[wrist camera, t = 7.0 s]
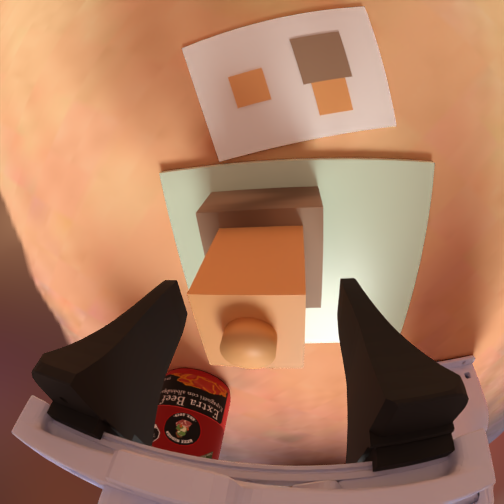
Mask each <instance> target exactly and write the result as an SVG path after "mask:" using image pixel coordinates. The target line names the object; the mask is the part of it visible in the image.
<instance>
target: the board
mask: <svg viewBox="0 0 504 504" xmlns="http://www.w3.org/2000/svg"><path fill="white" fill-rule="evenodd" d="M434 166H435V163H434V162H433V161H424V160H408V159H386V158H305V159H282V160H265V161H251V162H238V163H227V164H217V165H208V166H199V167H191V168H183V169H176V170H169V171H162V172H161V173H159V174H160V179H161V183H162V188H163V192H164V197H165V201H166V205H167V210H168V214H169V218H170V222H171V226H172V230H173V234H174V238H175V242H176V246H177V249H178V253H179V257H180V261H181V264H182V268H183V271H184V275H185V278H186V282H187V285H188V289H190V287H191V285H192V282H193V280H194V278H195V276H196V274H197V272H198V270H199V268H200V266H201V264H202V262H203V260H204V258H205V255H204V251H203V246H202V241H201V237H200V232H199V227H198V223H197V218H196V212H197V211H198V209H199V208H200V207H201V205H202V204H203V202H204V201H205V200H206V199H207V197H208V196H209V195H210V193H211V192H219V191H232V190H247V189H263V188H283V187H311V186H318V188H319V192H320V196H321V200H322V204H323V273H322V298H321V308H306V314H305V343H332V342H340V341H339V335H338V321H337V310H338V300H339V289H340V279H341V278H355V279H356V280H357V282H358V283H359V285H360V286H361V287H362V289H363V290H364V292H365V293H366V294H367V296H368V297H369V299H370V300H371V301H372V302H373V304H374V305H375V306H376V307H377V309H378V310H379V311H380V312H381V314H382V315H383V316H384V317H385V318H386V319H387V321H388V322H389V323H390V324H391V325H392V326H393V327H394V328H395V329H396V330H397V331H398V332H399V333H401V330H402V327H403V324H404V321H405V318H406V314H407V311H408V308H409V304H410V301H411V297H412V293H413V290H414V286H415V282H416V278H417V274H418V269H419V265H420V260H421V256H422V251H423V246H424V241H425V235H426V230H427V224H428V218H429V211H430V204H431V196H432V188H433V178H434Z"/></svg>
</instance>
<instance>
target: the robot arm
mask: <svg viewBox="0 0 504 504" xmlns="http://www.w3.org/2000/svg"><path fill="white" fill-rule="evenodd" d="M186 318H187V311H186V308H185V305H184V301H183V298H182V295H181V292H180V289H179V286H178V282H177V280H165V281H164V282H162V283H161V284H159V285H158V286H157V287H156V288H154V289H153V290H152V291H151V292H150V293H148V294H147V295H146V296H145V297H143V298H142V299H141V300H140V301H139V302H137V303H136V304H135V305H134V306H132V307H131V308H130V309H129V310H127V311H126V312H125V313H123V314H122V315H121V316H119V317H118V318H117V319H115V320H114V321H112V322H111V323H109V324H108V325H106V326H105V327H103V328H102V329H100V330H98V331H96V332H94V333H93V334H91V335H89V336H87V337H85V338H83V339H81V340H79V341H77V342H75V343H73V344H70V345H68V346H66V347H63V348H60V349H57V350H54V351H51V352H48V353H44V354H43V355H42V357H41V358H40V360H39V361H38V363H37V364H36V366H35V367H34V369H33V370H32V376H33V379H34V380H35V382H36V383H37V384H38V385H39V387H41V389H42V390H43V391H44V392H45V393H46V394H47V395H48V396H49V397H50V398H51V399H52V400H53V402H52V404H51V405H49V404H48V403H47V402H45V401H43V400H41V399H39V398H37V397H35V396H31V397H30V399H29V400H28V402H27V404H26V406H25V407H24V409H23V411H22V413H21V415H20V416H19V418H18V420H17V422H16V424H15V426H14V428H13V430H12V434H14V435H15V436H16V437H17V438H19V439H20V440H21V441H22V442H24V443H25V444H26V445H28V446H29V447H30V448H32V449H33V450H35V451H36V452H37V453H39V454H40V455H41V456H43V457H45V458H46V459H48V460H49V461H51V462H53V463H54V464H56V465H58V466H60V467H61V468H63V469H65V470H66V471H69V472H70V473H72V474H74V475H76V476H78V477H80V478H82V479H83V480H85V481H87V482H89V483H91V484H93V485H95V486H98V487H100V488H102V489H103V490H102V493H101V496H100V499H99V502H98V504H473V503H475V502H476V503H475V504H493V503H494V495H493V484H494V483H495V476H494V469H493V464H492V459H491V454H490V450H489V445H488V441H487V436H486V433H485V432H486V430H487V426H488V419H489V413H488V406H487V402H486V399H485V396H484V394H483V391H482V388H481V385H480V382H479V380H478V377H477V374H476V372H475V369H474V367H473V364H472V363H473V362H474V360H475V357H474V356H473V355H471V356H466V357H462V358H457V359H451V360H446V361H440V362H436V361H434V360H433V359H431V358H429V357H428V356H427V355H425V354H424V353H422V352H421V351H420V350H419V349H417V348H416V347H415V346H414V345H412V344H411V343H410V342H409V341H408V340H406V339H405V338H404V337H403V336H402V335H401V334H400V333H399V332H398V331H397V330H396V329H395V328H394V327H393V326H392V325H391V324H390V323H389V322H388V321H387V319H386V318H385V317H384V316H383V315H382V314H381V312H380V311H379V310H378V309H377V307H376V306H375V305H374V304H373V302H372V301H371V300H370V299H369V297H368V296H367V294H366V293H365V292H364V290H363V289H362V287H361V286H360V285H359V283H358V282H357V280H356V279H355V278H341V279H340V289H339V300H338V310H337V321H338V335H339V341H340V346H341V352H342V357H343V363H344V369H345V375H346V383H347V406H348V430H347V455H346V464H337V465H315V466H285V465H263V464H249V463H239V462H230V461H222V460H215V459H209V458H202V457H197V456H191V455H186V454H181V453H176V452H172V451H167V450H163V449H159V448H155V447H152V443H153V434H154V426H155V420H156V414H157V408H158V404H159V399H160V394H161V390H162V387H163V383H164V379H165V376H166V373H167V370H168V368H169V365H170V363H171V360H172V358H173V355H174V353H175V350H176V348H177V346H178V343H179V341H180V338H181V336H182V333H183V330H184V326H185V322H186ZM272 485H275V486H272ZM281 486H292V487H281Z"/></svg>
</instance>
